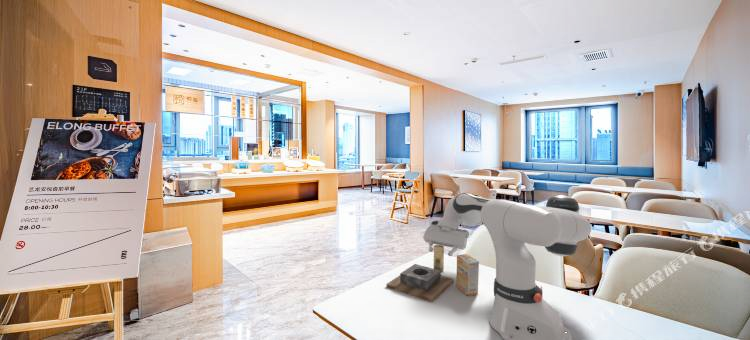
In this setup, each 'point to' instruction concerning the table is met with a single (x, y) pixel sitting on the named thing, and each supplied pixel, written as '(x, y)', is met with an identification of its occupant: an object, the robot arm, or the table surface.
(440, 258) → the brass plug
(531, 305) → the robot arm
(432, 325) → the table surface
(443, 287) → the socket board
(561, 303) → the table surface
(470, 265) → the supplement box
